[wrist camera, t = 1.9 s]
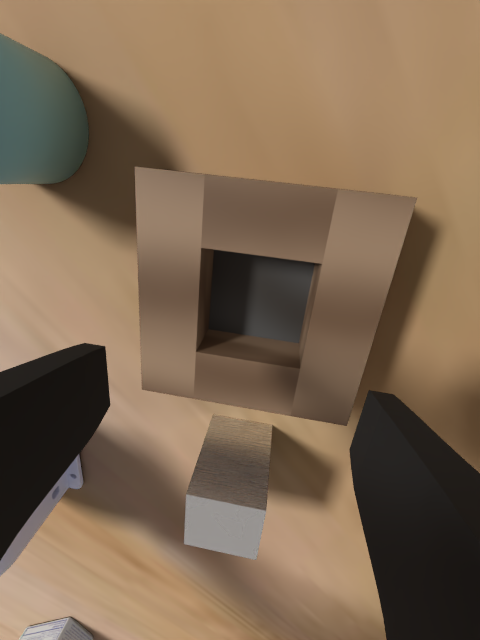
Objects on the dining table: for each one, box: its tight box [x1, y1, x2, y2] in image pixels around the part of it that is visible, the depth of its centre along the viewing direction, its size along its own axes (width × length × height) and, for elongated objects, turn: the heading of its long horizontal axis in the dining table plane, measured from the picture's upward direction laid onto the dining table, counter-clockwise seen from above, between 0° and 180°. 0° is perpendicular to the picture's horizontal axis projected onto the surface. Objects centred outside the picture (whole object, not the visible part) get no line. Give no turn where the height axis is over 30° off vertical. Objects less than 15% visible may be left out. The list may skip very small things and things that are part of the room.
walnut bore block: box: [135, 167, 417, 426], centre depth 16 cm, size 11×11×3 cm
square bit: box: [184, 414, 272, 560], centre depth 19 cm, size 4×4×6 cm
